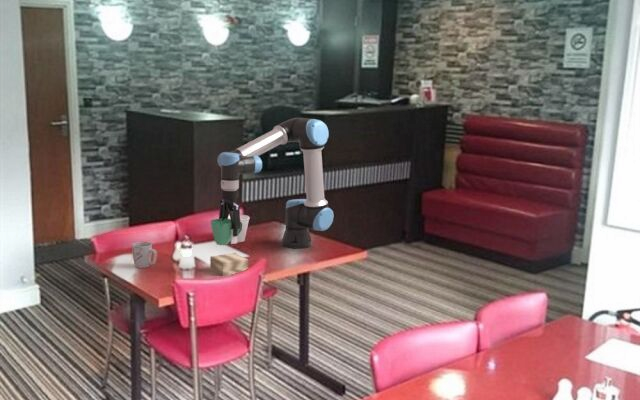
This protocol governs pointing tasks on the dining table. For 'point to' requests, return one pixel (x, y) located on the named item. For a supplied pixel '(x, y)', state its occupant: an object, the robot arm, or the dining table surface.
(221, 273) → the beech block
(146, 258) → the mug
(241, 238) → the cup
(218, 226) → the mug
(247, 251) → the dining table surface
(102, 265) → the dining table surface
